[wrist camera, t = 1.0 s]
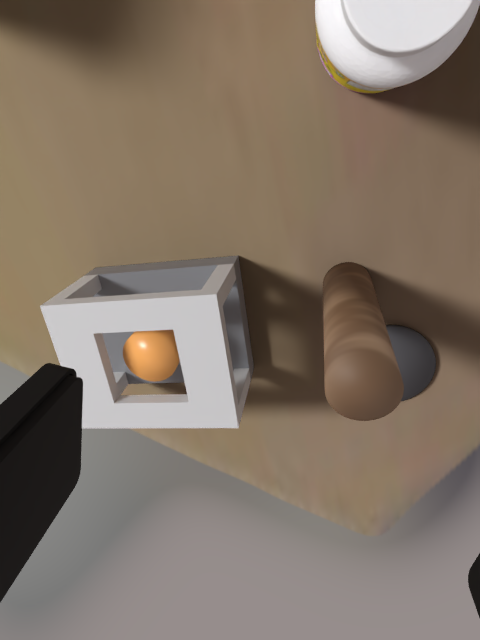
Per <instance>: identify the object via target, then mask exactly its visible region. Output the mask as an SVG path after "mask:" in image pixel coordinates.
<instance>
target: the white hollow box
mask: <svg viewBox="0 0 480 640" xmlns="http://www.w3.org/2000/svg"><path fill="white" fill-rule="evenodd" d="M40 307H41V310H42V313H43V316H44V319H45V322H46V325H47V327H48V330H49V333H50V336H51V339H52V342H53V345H54V348H55V351H56V353H57V356H58V359H59V362H60V365H61V366H63V367H68V368H72V369H74V370H75V371H76V374H77V377H80V378H82V380H83V405H82V428H239V424H240V421H241V417H242V413H243V409H244V405H245V401H246V397H247V393H248V390H249V386H250V382H251V378H252V374H253V370H254V364H253V357H252V350H251V343H250V335H249V328H248V321H247V314H246V307H245V299H244V292H243V285H242V278H241V271H240V263H239V256H228V257H216V258H204V259H192V260H181V261H169V262H157V263H145V264H133V265H121V266H109V267H97V268H94V269H93V270H92V271H90V272H89V273H87V274H86V275H84V276H83V277H81V278H80V279H78V280H77V281H76V282H74V283H73V284H71V285H70V286H68V287H67V288H65V289H64V290H63V291H61V292H60V293H58V294H57V295H55V296H54V297H52V298H51V299H50V300H48V301H47V302H45V303H44V304H42V305H41V306H40ZM155 330H173V331H174V336H175V340H176V345H177V350H178V354H179V359H180V362H179V364H178V366H177V368H176V370H175V371H174V373H173V374H172V375H171V376H170V377H169V378H167V379H165V380H162V381H156V382H154V381H147V380H144V379H141V378H139V377H138V376H136V375H135V374H134V373H132V372H131V371H130V369H129V368H128V367H127V365H126V363H125V361H124V358H123V347H124V344H125V342H126V341H127V339H128V338H129V337H130V336H131V335H132V334H133V332H135V331H155ZM180 382H185V386H186V391H187V394H168V395H121V394H122V392H123V391H124V389H125V388H126V386H127V385H128V384H139V383H180Z"/></svg>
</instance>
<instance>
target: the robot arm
mask: <svg viewBox="0 0 480 640" xmlns="http://www.w3.org/2000/svg"><path fill="white" fill-rule="evenodd" d="M82 405H83V380H82V378H80V377H77V374H76V371H75V370H74V369H72V368H68V367H63V366H59V365H55V364H51V363H47V364H45V365H44V366H42V367H41V368H40V369H39V370H38V371H37V372H36V373H35V374H34V375H33V376H31V377H30V378H29V379H28V380H27V381H26V382H25V383H24V384H23V385H22V386H20V387H19V388H18V389H17V390H16V391H15V392H14V393H13V394H12V395H10V397H8V398H7V399H6V400H5V401H4V402H3V403H2V404H1V405H0V602H1V601H2V599H3V597H4V596H5V594H6V593H7V591H8V589H9V588H10V587H11V585H12V584H13V582H14V580H15V579H16V577H17V576H18V574H19V573H20V571H21V569H22V568H23V567H24V565H25V563H26V562H27V560H28V559H29V557H30V556H31V554H32V553H33V551H34V549H35V548H36V546H37V545H38V543H39V542H40V540H41V539H42V537H43V536H44V534H45V532H46V531H47V529H48V528H49V526H50V525H51V523H52V522H53V520H54V519H55V517H56V515H57V514H58V512H59V511H60V509H61V508H62V506H63V505H64V503H65V502H66V500H67V498H68V497H69V495H70V494H71V492H72V491H73V489H74V488H75V486H76V484H77V481H78V479H79V475H80V470H81V438H82ZM468 583H469V588H470V591H471V594H472V597H473V600H474V603H475V606H476V609H477V612H478V615H479V617H480V554H479V555H478V557H477V558H476V560H475V562H474V563H473V565H472V567H471V568H470V571H469V575H468Z"/></svg>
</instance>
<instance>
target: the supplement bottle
mask: <svg viewBox="0 0 480 640" xmlns="http://www.w3.org/2000/svg"><path fill="white" fill-rule="evenodd" d="M479 5H480V0H316V1H315V19H316V37H317V46H318V51H319V55H320V58H321V61H322V63H323V65H324V67H325V69H326V70H327V72H328V74H329V75H330V76H331V77H332V78H333V79H334V80H335V81H336V82H337V83H338V84H340V85H341V86H343V87H344V88H346V89H348V90H351V91H354V92H359V93H378V92H383V91H386V90H390V89H393V88H396V87H400V86H403V85H407V84H409V83H412V82H414V81H416V80H419V79H421V78H423V77H424V76H426V75H428V74H429V73H431V72H432V71H434V70H435V69H436V68H438V67H439V66H440V65H441V64H442V63H443V62H445V61H446V60H447V59H448V58H449V57H450V56H451V55H452V53H453V52H454V51H455V50H456V49H457V47H458V46H459V45H460V44H461V42H462V41H463V39H464V38H465V36H466V35H467V33H468V31H469V29H470V27H471V25H472V23H473V21H474V19H475V16H476V14H477V11H478V8H479Z"/></svg>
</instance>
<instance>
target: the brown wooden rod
mask: <svg viewBox="0 0 480 640" xmlns="http://www.w3.org/2000/svg"><path fill="white" fill-rule="evenodd" d="M323 320H324V380H325V395H326V399H327V401H328V403H329V404H330V406H331V407H332V408H333V409H334V410H335V411H336V412H338V413H339V414H341V415H342V416H344V417H347V418H349V419H353V420H359V421H369V420H375V419H379V418H381V417H384V416H386V415H388V414H389V413H390V412H392V411H393V410H394V409H395V408H396V407H397V406H398V405H399V403H400V401H401V399H402V397H403V392H404V384H403V380H402V377H401V373H400V370H399V367H398V364H397V361H396V357H395V354H394V351H393V348H392V344H391V341H390V338H389V335H388V331H387V328H386V325H385V322H384V318H383V315H382V312H381V309H380V305H379V302H378V299H377V296H376V292H375V289H374V286H373V283H372V280H371V277H370V274H369V273H368V271H367V270H366V269H365V268H364V267H362V266H361V265H359V264H356V263H352V262H345V263H340V264H338V265H336V266H334V267H332V268H331V269H330V270H329V271H328V272H327V274H326V275H325V278H324V281H323Z"/></svg>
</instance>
